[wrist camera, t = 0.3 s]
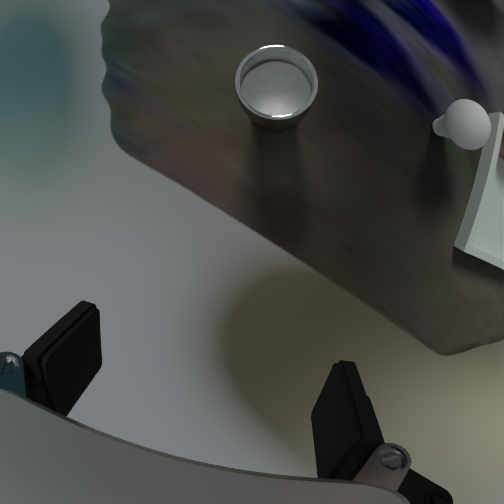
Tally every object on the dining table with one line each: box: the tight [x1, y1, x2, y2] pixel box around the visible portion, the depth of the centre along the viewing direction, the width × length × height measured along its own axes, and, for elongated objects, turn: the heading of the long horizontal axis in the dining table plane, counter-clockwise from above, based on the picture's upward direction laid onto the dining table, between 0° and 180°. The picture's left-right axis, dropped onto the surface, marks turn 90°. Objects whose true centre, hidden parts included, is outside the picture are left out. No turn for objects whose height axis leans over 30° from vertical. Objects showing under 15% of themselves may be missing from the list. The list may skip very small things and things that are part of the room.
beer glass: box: [235, 45, 318, 133], centre depth 29 cm, size 7×7×15 cm
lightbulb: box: [433, 99, 491, 150], centre depth 29 cm, size 6×6×11 cm
